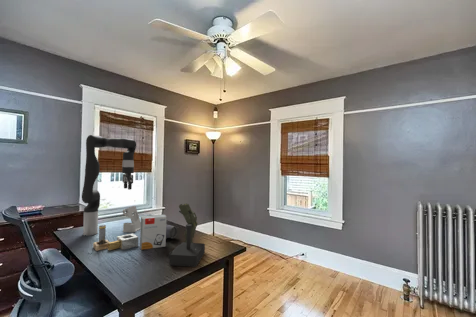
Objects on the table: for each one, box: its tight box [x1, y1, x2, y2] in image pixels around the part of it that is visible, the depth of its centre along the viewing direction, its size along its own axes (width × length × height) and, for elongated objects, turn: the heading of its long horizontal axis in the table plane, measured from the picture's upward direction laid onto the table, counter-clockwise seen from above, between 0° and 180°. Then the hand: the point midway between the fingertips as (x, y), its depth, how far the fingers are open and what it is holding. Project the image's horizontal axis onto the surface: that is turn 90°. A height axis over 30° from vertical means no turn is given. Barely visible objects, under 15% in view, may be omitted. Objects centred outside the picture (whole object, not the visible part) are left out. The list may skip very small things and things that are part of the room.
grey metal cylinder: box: [98, 224, 107, 245], centre depth 148 cm, size 4×4×14 cm
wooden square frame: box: [92, 239, 110, 252], centre depth 148 cm, size 8×8×3 cm
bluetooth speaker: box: [166, 224, 178, 240], centre depth 169 cm, size 23×9×10 cm, turn 68°
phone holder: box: [122, 205, 141, 234], centre depth 188 cm, size 17×10×18 cm, turn 173°
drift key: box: [107, 240, 120, 251], centre depth 146 cm, size 2×9×4 cm, turn 135°
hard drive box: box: [139, 214, 167, 251], centre depth 151 cm, size 16×8×20 cm, turn 117°
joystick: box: [167, 223, 206, 268], centre depth 132 cm, size 19×17×20 cm
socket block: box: [116, 232, 139, 251], centre depth 151 cm, size 10×10×6 cm
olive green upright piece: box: [178, 203, 198, 243], centre depth 150 cm, size 14×7×30 cm, turn 71°
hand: (127, 188), depth 164 cm, fingers open, 8 cm apart
